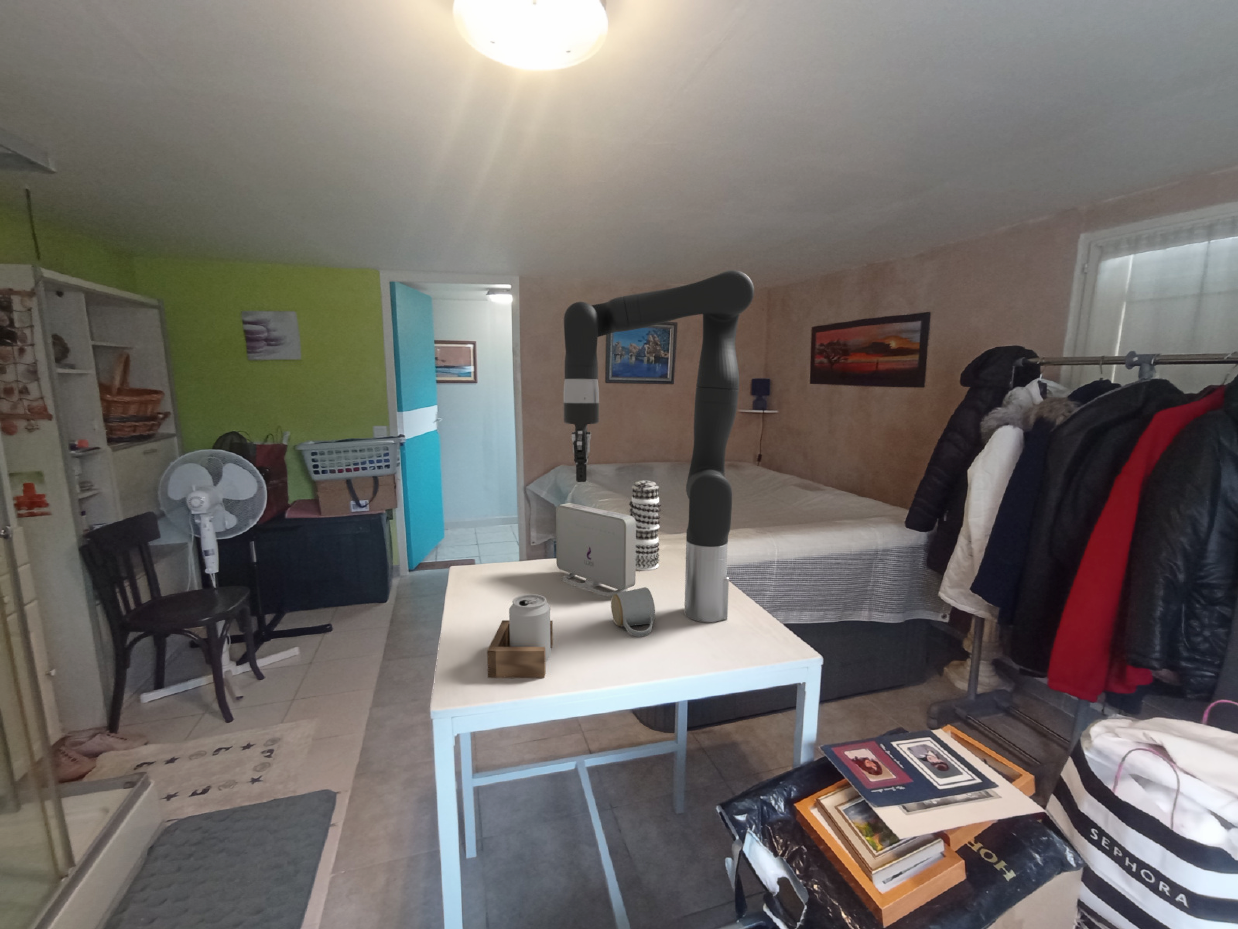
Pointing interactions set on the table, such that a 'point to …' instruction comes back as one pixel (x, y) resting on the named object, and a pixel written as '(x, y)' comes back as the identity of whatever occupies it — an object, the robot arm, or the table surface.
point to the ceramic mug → (633, 609)
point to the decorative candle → (646, 523)
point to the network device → (596, 547)
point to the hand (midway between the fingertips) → (581, 481)
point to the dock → (515, 656)
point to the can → (530, 622)
